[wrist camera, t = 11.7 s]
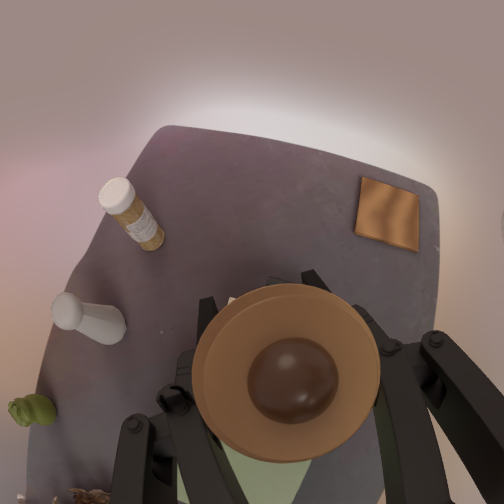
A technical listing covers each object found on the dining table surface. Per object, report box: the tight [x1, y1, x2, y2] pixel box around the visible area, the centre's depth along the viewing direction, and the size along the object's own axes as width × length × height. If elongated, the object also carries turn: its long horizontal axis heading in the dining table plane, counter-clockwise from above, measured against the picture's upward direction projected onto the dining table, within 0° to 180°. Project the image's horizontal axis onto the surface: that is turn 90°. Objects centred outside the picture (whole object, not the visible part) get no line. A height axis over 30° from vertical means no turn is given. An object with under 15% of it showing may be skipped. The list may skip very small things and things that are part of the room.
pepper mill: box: [192, 283, 381, 464], centre depth 13 cm, size 5×5×18 cm
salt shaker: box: [51, 292, 127, 345], centre depth 30 cm, size 6×6×13 cm
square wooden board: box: [354, 177, 419, 252], centre depth 40 cm, size 11×11×1 cm
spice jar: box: [99, 177, 165, 251], centre depth 35 cm, size 5×5×14 cm
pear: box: [8, 394, 57, 427], centre depth 26 cm, size 6×5×10 cm
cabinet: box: [177, 440, 312, 504], centre depth 25 cm, size 16×15×8 cm
